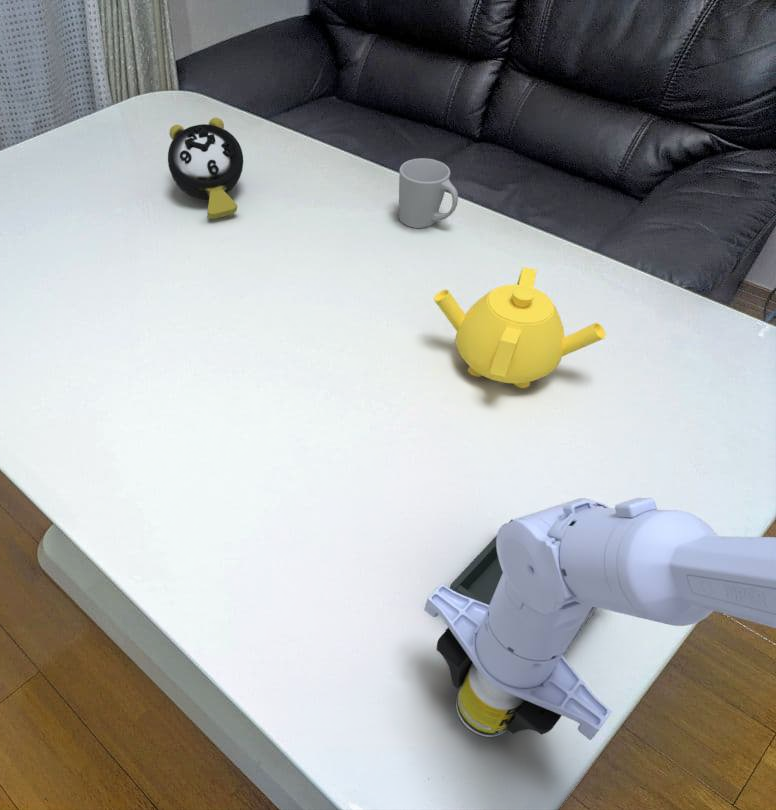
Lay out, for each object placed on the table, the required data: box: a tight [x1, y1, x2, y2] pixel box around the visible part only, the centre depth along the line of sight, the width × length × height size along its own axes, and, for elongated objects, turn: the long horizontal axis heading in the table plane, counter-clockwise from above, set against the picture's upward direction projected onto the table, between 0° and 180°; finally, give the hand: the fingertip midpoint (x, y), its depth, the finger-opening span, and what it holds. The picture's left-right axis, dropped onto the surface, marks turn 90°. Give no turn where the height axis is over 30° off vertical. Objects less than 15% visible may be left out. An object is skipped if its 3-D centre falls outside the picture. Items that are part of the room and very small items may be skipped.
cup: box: [398, 157, 459, 229], centre depth 114 cm, size 8×10×8 cm
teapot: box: [433, 266, 606, 389], centre depth 90 cm, size 20×18×11 cm
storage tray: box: [449, 519, 598, 641], centre depth 68 cm, size 10×10×5 cm
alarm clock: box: [167, 117, 244, 220], centre depth 121 cm, size 12×15×15 cm
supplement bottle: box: [455, 663, 525, 738], centre depth 60 cm, size 5×5×8 cm
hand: (488, 700), depth 62 cm, fingers closed on supplement bottle, 5 cm apart
